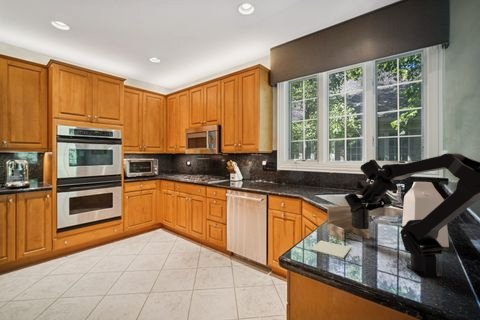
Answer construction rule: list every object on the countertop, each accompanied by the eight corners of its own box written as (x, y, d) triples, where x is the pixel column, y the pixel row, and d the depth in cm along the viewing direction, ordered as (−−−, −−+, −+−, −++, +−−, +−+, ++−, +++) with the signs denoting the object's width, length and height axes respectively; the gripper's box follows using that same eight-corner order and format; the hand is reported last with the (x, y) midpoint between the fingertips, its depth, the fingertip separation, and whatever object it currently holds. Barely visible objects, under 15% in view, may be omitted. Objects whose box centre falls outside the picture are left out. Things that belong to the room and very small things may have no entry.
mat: (350, 248, 85) (350, 247, 85) (343, 258, 76) (343, 257, 76) (320, 241, 93) (320, 240, 93) (310, 249, 83) (310, 248, 83)
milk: (432, 237, 97) (431, 181, 98) (448, 247, 86) (447, 183, 87) (401, 235, 101) (401, 180, 101) (413, 243, 90) (413, 182, 90)
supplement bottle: (372, 230, 88) (371, 201, 88) (354, 229, 89) (354, 200, 90) (366, 225, 95) (365, 198, 95) (349, 224, 96) (349, 198, 96)
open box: (369, 238, 96) (369, 209, 96) (342, 240, 93) (341, 211, 93) (352, 231, 106) (352, 205, 107) (327, 232, 104) (327, 206, 104)
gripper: (384, 173, 91) (365, 196, 101) (346, 174, 87) (330, 197, 97) (403, 194, 83) (380, 216, 93) (362, 195, 79) (342, 218, 89)
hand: (357, 211), depth 93 cm, fingers closed on supplement bottle, 7 cm apart
